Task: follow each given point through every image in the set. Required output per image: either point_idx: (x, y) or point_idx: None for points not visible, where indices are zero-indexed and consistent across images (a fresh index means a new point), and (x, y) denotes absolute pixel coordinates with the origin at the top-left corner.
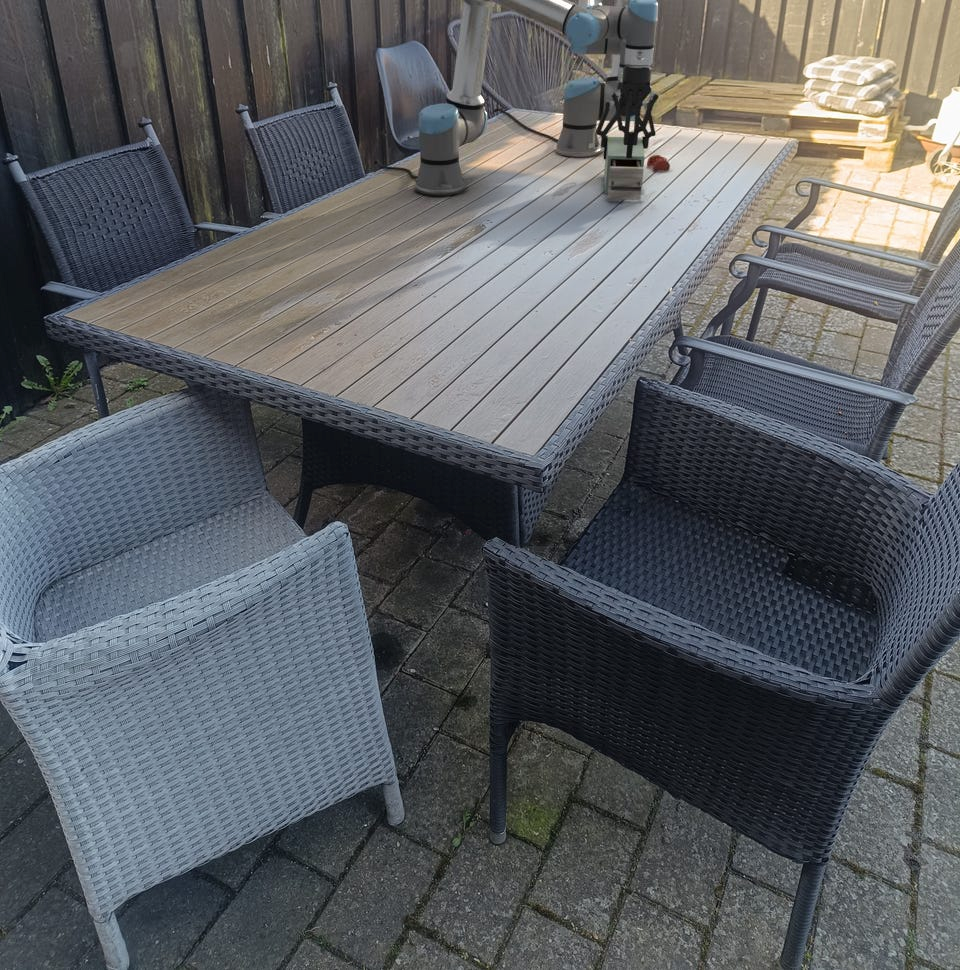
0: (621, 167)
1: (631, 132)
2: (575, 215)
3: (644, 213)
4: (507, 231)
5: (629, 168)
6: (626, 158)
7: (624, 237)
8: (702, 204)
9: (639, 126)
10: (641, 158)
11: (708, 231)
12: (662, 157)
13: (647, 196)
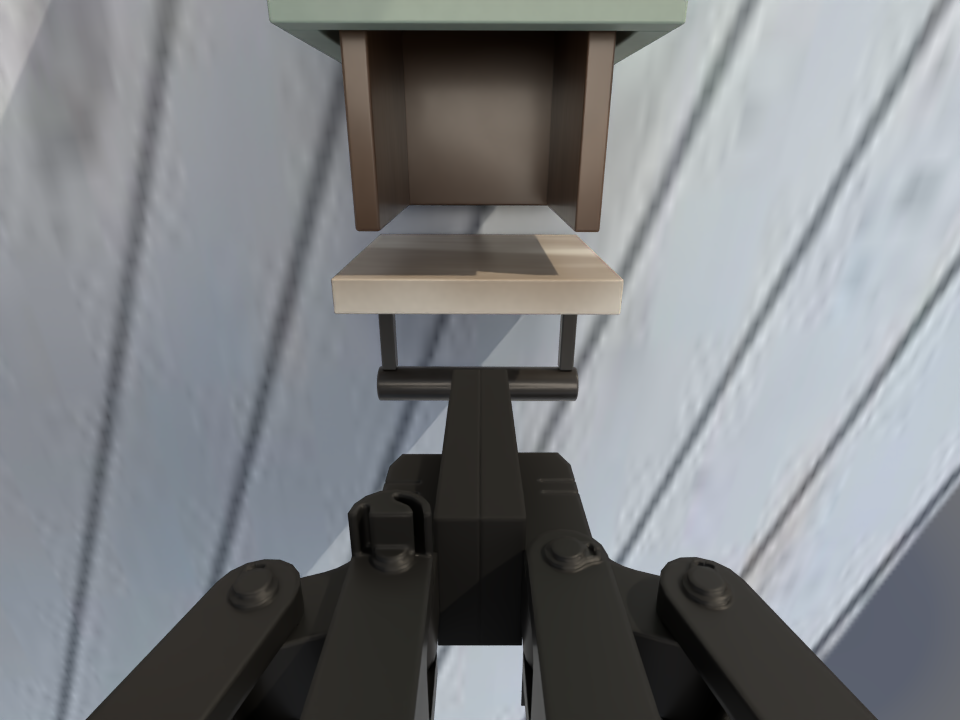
0: (429, 304)
1: (485, 565)
2: (243, 483)
3: (576, 427)
4: (16, 672)
5: (498, 313)
6: (480, 29)
7: (467, 688)
8: (933, 249)
9: (636, 641)
10: (644, 27)
11: (811, 611)
12: None
13: (636, 115)
